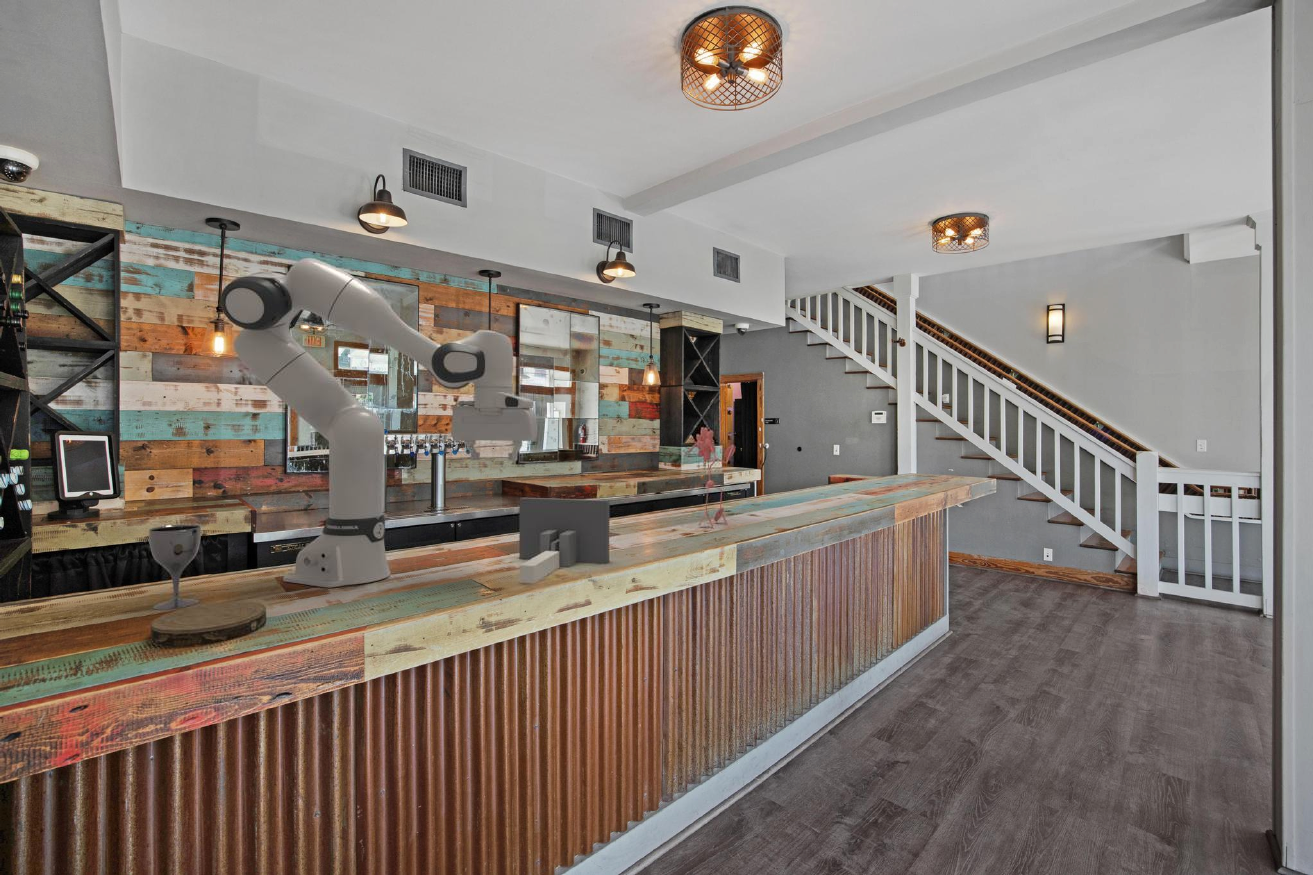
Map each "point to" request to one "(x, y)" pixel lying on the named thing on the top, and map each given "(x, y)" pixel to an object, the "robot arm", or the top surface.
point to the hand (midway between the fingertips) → (493, 460)
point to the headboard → (565, 529)
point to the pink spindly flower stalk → (705, 450)
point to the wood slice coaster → (208, 624)
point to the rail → (540, 565)
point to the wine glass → (175, 556)
